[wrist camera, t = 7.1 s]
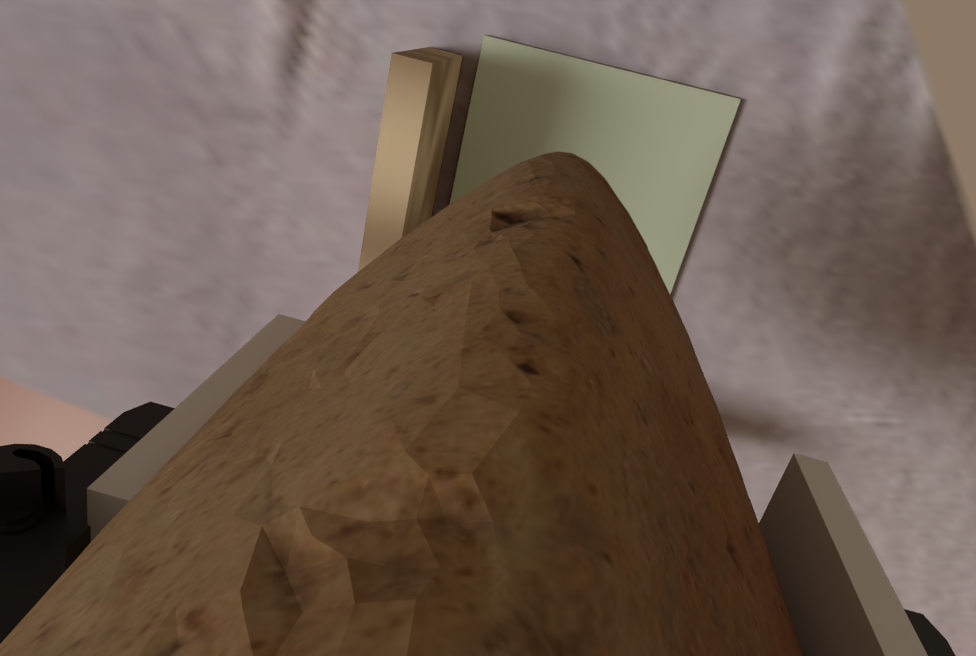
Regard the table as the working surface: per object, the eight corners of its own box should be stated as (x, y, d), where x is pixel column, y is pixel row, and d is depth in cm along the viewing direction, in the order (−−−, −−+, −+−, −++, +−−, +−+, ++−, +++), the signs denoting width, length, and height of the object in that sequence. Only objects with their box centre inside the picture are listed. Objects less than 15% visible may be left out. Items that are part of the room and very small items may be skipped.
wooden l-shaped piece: (429, 47, 30) (391, 53, 25) (789, 137, 30) (831, 164, 24) (377, 346, 36) (338, 403, 31) (674, 426, 36) (687, 498, 30)
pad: (484, 35, 30) (483, 35, 30) (739, 98, 29) (740, 99, 29) (424, 327, 36) (424, 328, 35) (636, 384, 35) (637, 385, 35)
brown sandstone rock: (373, 229, 22) (-674, 1162, 4) (587, 107, 20) (417, 1032, 2) (538, 491, 25) (372, 1714, 7) (742, 412, 23) (1299, 1952, 5)
